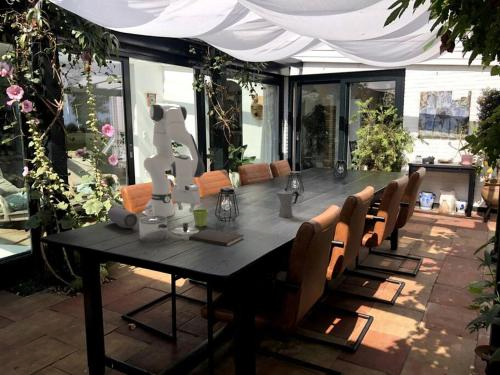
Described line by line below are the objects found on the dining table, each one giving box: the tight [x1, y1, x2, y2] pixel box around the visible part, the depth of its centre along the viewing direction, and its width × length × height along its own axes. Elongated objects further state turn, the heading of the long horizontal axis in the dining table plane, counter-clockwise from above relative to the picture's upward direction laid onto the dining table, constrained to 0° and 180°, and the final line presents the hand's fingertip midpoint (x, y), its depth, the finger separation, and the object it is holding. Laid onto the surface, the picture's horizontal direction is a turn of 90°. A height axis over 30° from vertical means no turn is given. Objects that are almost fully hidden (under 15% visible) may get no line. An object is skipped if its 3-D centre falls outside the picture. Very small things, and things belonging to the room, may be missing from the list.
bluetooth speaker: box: [106, 206, 139, 229], centre depth 232 cm, size 23×9×10 cm, turn 41°
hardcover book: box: [188, 229, 244, 247], centre depth 208 cm, size 16×23×2 cm
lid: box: [171, 222, 200, 236], centre depth 222 cm, size 15×15×5 cm
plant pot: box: [192, 208, 209, 227], centre depth 234 cm, size 9×9×9 cm
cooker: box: [138, 215, 169, 243], centre depth 209 cm, size 21×14×10 cm
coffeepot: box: [275, 187, 299, 218], centre depth 258 cm, size 15×9×18 cm, turn 107°
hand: (186, 210), depth 220 cm, fingers open, 8 cm apart
